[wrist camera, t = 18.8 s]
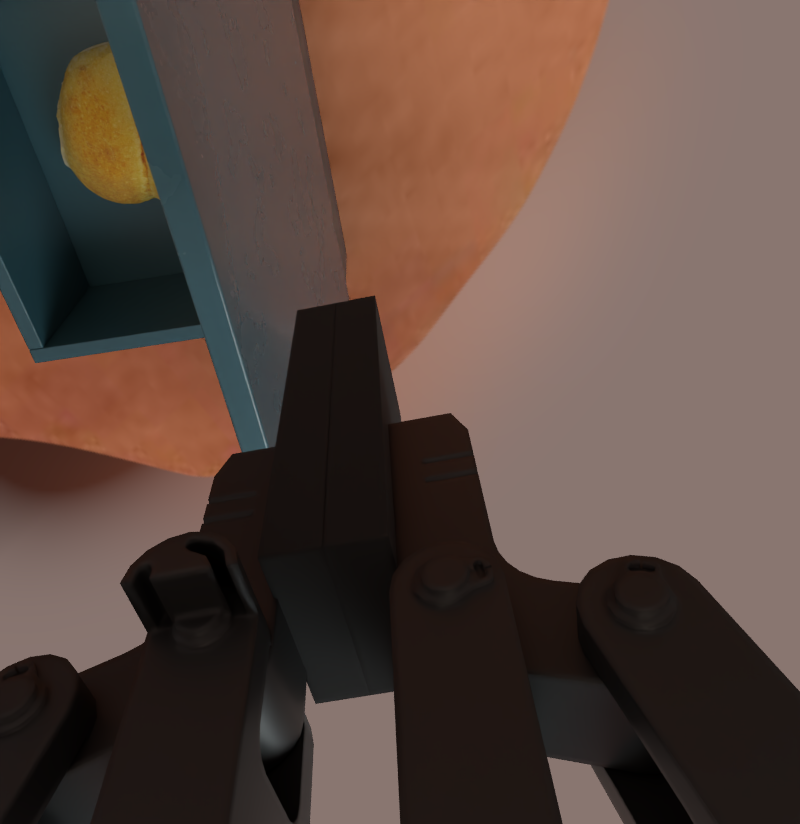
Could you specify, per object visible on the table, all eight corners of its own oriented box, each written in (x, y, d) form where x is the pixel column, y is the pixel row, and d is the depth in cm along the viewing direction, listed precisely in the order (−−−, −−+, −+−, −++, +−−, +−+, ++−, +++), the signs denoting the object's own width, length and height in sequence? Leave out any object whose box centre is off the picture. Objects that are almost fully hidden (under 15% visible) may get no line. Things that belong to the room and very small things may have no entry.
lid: (280, 575, 22) (305, 573, 22) (32, -188, 12) (76, -197, 12) (337, 321, 37) (353, 319, 37) (246, -124, 27) (267, -128, 27)
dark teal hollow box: (86, 295, 45) (34, 363, 38) (-57, -54, 35) (-166, -53, 28) (346, 255, 45) (345, 316, 37) (277, -111, 35) (257, -125, 27)
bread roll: (238, 205, 42) (228, 228, 39) (78, 191, 41) (54, 213, 38) (237, 49, 37) (226, 59, 34) (57, 28, 36) (28, 37, 33)
